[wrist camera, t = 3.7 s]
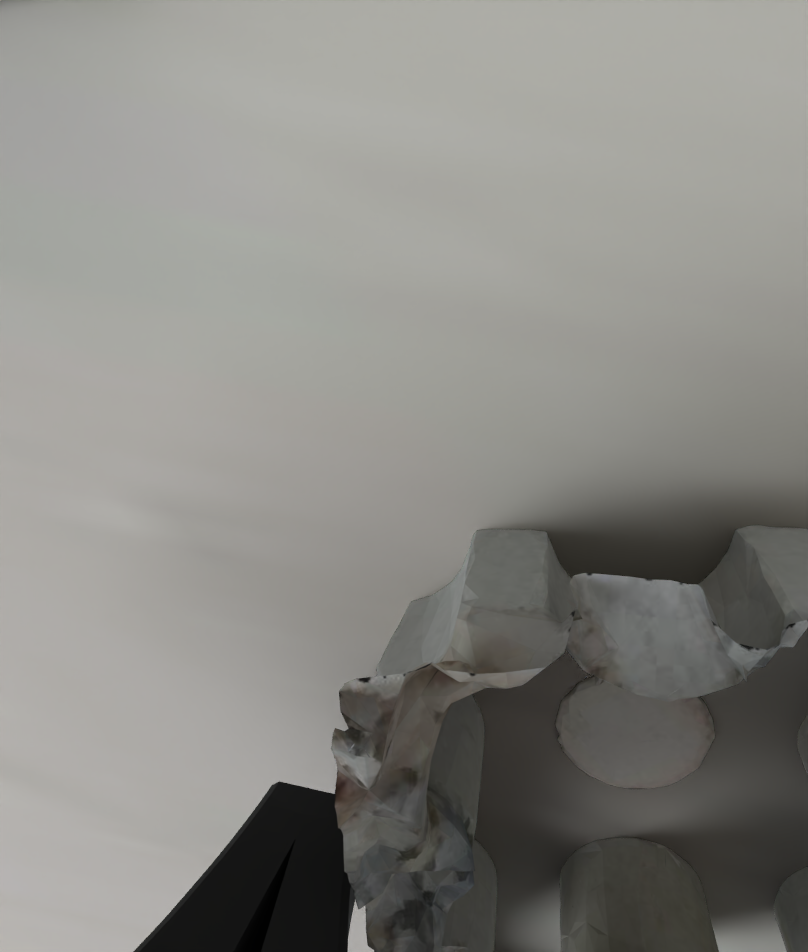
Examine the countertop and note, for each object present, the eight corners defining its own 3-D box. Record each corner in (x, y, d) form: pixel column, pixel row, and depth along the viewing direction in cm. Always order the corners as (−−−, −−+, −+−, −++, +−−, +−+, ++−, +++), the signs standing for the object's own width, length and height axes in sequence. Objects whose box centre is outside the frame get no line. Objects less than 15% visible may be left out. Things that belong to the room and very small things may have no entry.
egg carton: (389, 490, 10) (292, 677, 6) (994, 510, 8) (1382, 773, 4) (418, 974, 14) (371, 1269, 10) (827, 1045, 12) (955, 1421, 8)
